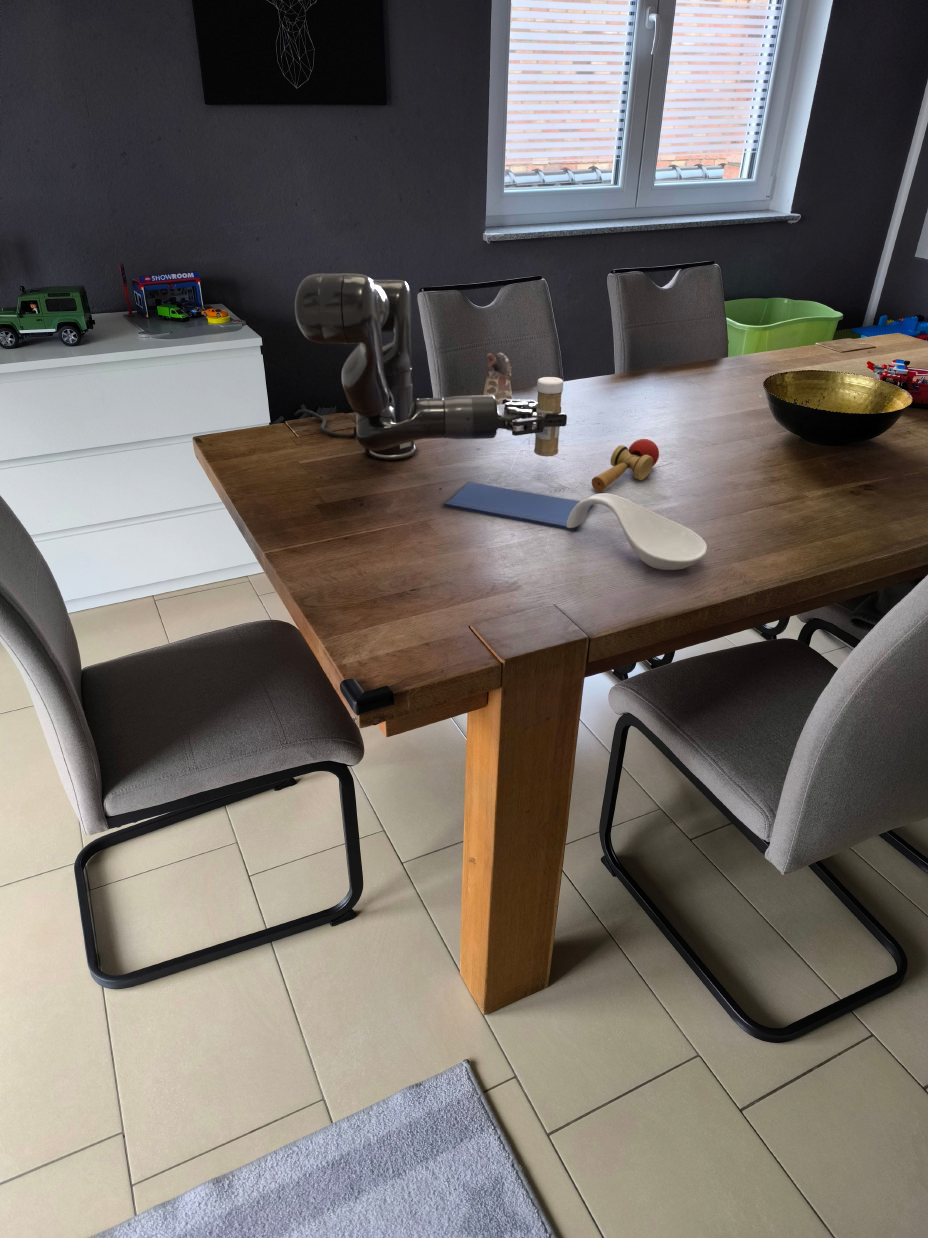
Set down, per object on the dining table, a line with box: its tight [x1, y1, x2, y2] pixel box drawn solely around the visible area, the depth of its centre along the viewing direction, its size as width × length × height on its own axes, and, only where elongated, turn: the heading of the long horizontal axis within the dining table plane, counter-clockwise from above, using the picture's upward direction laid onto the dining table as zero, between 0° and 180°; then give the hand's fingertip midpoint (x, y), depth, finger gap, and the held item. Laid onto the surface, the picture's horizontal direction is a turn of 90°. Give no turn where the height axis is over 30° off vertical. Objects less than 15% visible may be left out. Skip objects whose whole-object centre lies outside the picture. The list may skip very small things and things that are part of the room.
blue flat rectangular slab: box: [444, 481, 594, 531], centre depth 148 cm, size 24×11×1 cm, turn 66°
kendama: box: [591, 438, 660, 493], centre depth 158 cm, size 8×6×18 cm
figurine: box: [483, 352, 514, 405], centre depth 194 cm, size 7×7×12 cm
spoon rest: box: [566, 492, 708, 571], centre depth 132 cm, size 24×12×7 cm, turn 48°
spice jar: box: [533, 376, 564, 457], centre depth 149 cm, size 5×5×14 cm
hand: (562, 415), depth 149 cm, fingers closed on spice jar, 4 cm apart
